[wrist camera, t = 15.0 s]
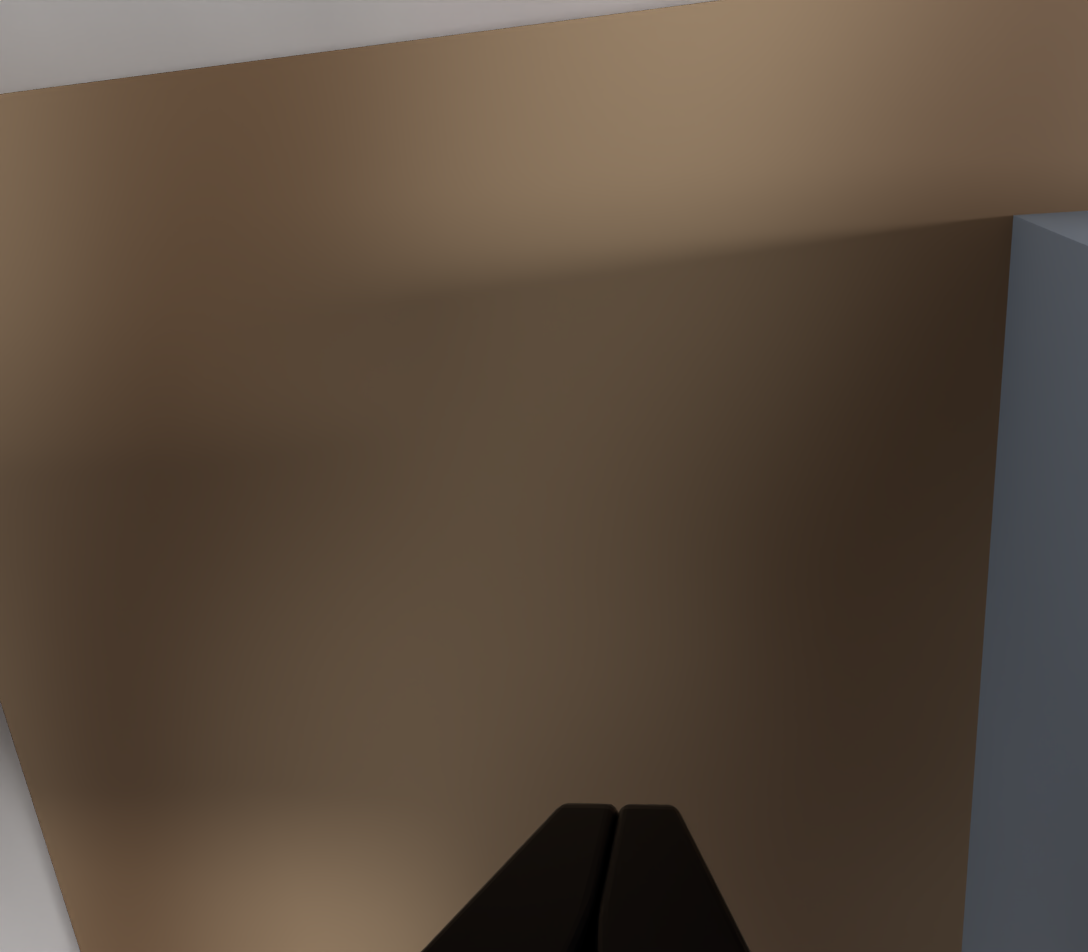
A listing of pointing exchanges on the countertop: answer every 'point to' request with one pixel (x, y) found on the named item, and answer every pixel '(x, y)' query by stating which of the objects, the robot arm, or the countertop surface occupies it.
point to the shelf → (518, 461)
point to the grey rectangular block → (1036, 614)
